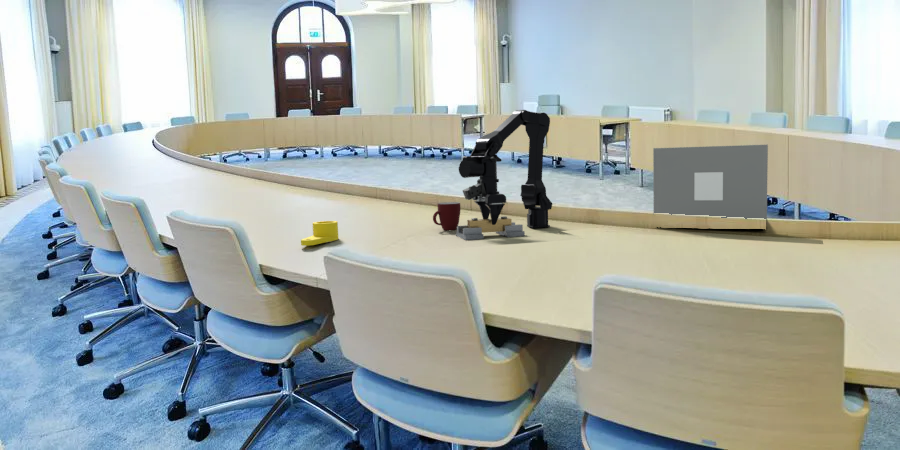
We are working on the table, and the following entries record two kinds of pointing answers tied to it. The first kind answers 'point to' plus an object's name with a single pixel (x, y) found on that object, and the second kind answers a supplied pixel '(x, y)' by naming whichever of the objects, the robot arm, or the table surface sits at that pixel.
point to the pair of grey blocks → (477, 234)
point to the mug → (448, 215)
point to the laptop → (711, 180)
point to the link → (489, 224)
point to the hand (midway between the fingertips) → (489, 223)
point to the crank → (322, 233)
